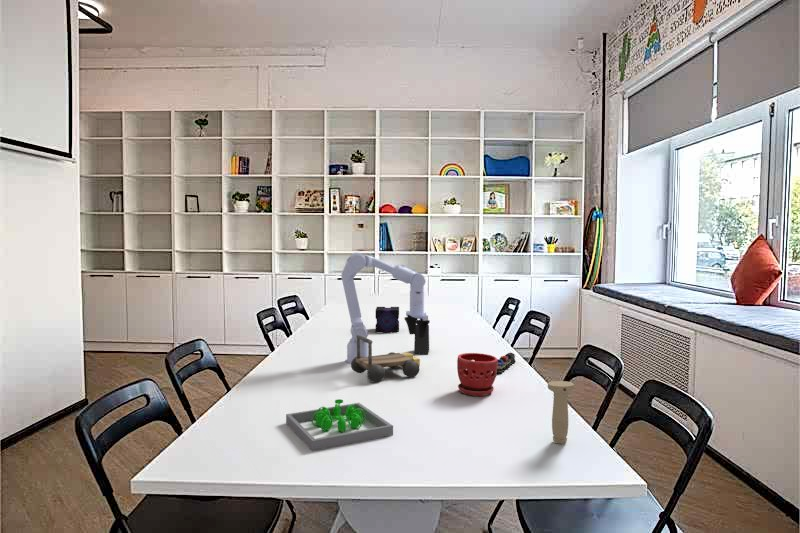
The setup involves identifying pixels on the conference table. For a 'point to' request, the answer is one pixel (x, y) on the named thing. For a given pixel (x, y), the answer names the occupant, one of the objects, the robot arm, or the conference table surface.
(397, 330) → the energy cube
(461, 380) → the plant pot
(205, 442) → the conference table surface
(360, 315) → the robot arm
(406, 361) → the trolley
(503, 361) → the toy train
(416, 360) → the yellow step block
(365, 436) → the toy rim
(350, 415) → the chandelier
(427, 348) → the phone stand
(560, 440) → the handle
